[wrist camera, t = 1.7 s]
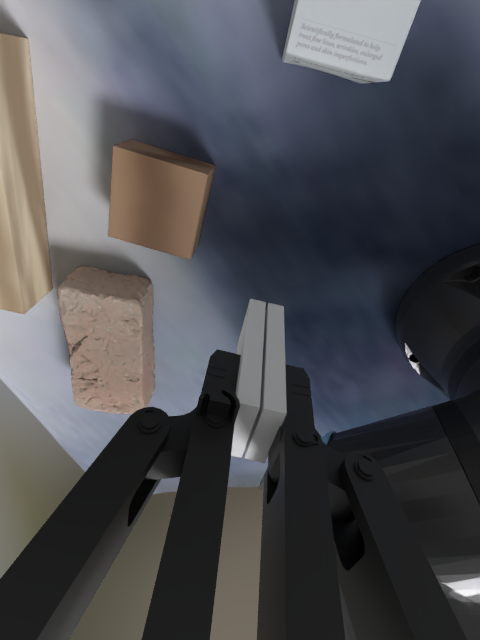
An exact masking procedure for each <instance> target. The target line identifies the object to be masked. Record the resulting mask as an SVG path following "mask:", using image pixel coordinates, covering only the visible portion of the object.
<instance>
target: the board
mask: <svg viewBox="0 0 480 640" xmlns="http://www.w3.org/2000/svg"><path fill="white" fill-rule="evenodd" d="M52 289H53V285H52V275H51V265H50V255H49V245H48V234H47V224H46V214H45V204H44V194H43V184H42V174H41V164H40V154H39V143H38V133H37V123H36V113H35V103H34V93H33V83H32V73H31V63H30V52H29V42H28V39H27V38H23V37H19V36H15V35H12V34H8V33H4V32H0V309H3V310H7V311H12V312H16V313H20V314H25V313H26V312H27V311H29V310H30V309H31V308H32V307H33V306H34V305H35V304H36V303H37V302H39V301H40V300H41V299H42V298H43V297H44V296H45V295H46V294H48V293H49V292H50V291H51V290H52Z"/></svg>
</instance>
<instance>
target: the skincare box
mask: <svg viewBox="0 0 480 640" xmlns="http://www.w3.org/2000/svg"><path fill="white" fill-rule="evenodd" d="M420 2H421V0H295V1H294V6H293V11H292V15H291V20H290V25H289V29H288V34H287V39H286V43H285V48H284V53H283V57H282V62H284V63H290V64H295V65H300V66H304V67H308V68H312V69H315V70H319V71H323V72H326V73H329V74H333V75H336V76H339V77H342V78H345V79H348V80H351V81H354V82H357V83H360V84H365V83H376V82H388V81H390V79H391V77H392V75H393V72H394V69H395V67H396V64H397V61H398V59H399V57H400V54H401V51H402V48H403V46H404V43H405V41H406V38H407V36H408V33H409V30H410V28H411V25H412V22H413V20H414V17H415V14H416V12H417V9H418V7H419V4H420Z"/></svg>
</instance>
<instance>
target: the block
mask: <svg viewBox="0 0 480 640" xmlns="http://www.w3.org/2000/svg"><path fill="white" fill-rule="evenodd" d="M215 166H216V165H213V164H209V163H206V162H203V161H200V160H196V159H193V158H190V157H187V156H183V155H180V154H177V153H174V152H171V151H167V150H164V149H161V148H158V147H154V146H151V145H148V144H145V143H141V142H138V141H135V140H132V139H131V140H128V141H126V142H123V143H120V144H117V145H114V146H113V158H112V176H111V194H110V211H109V229H108V236H109V237H113V238H116V239H120V240H123V241H127V242H130V243H134V244H137V245H140V246H144V247H147V248H151V249H154V250H158V251H161V252H165V253H168V254H172V255H175V256H179V257H182V258H186V259H189V260H191V258H192V256H193V254H194V252H195V250H196V248H197V246H198V244H199V240H200V236H201V231H202V226H203V222H204V217H205V212H206V208H207V203H208V198H209V194H210V189H211V184H212V180H213V175H214V170H215Z"/></svg>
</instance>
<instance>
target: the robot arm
mask: <svg viewBox="0 0 480 640" xmlns="http://www.w3.org/2000/svg"><path fill="white" fill-rule="evenodd" d="M265 307H266V302H263V301H259V300H255V299H250V301H249V305H248V308H247V312H246V316H245V319H244V323H243V327H242V330H241V334H240V337H239V341H238V346H237V353H236V354H234V353H230V352H225V351H221V350H216V351H215V352H214V353H213V354H212V355H211V356H210V360H209V364H208V368H207V372H206V376H205V380H204V384H203V388H202V392H201V395H200V397H199V401H198V405H197V407H196V408H195V409H194V410H193V411H191V412H190V413H188V414H185V415H181V416H168V415H167V413H166V412H164V411H162V410H161V409H158V408H154V407H145V408H142V409H139V410H137V411H135V412H134V413H133V414H132V415H131V416H130V417H129V418H128V419H127V421H126V422H125V423H124V425H123V426H122V427H121V428H120V430H119V431H118V432H117V433H116V435H115V436H114V437H113V438H112V440H111V441H110V442H109V443H108V445H107V446H106V447H105V448H104V450H103V451H102V452H101V453H100V455H99V456H98V457H97V458H96V460H95V461H94V462H93V463H92V465H91V466H90V467H89V468H88V470H87V471H86V472H85V473H84V475H83V476H82V477H81V478H80V480H79V481H78V482H77V484H76V485H75V486H74V487H73V488H72V490H71V491H70V492H69V494H68V495H67V496H66V497H65V499H64V500H63V501H62V502H61V504H60V505H59V506H58V507H57V509H56V510H55V511H54V512H53V514H52V515H51V516H50V518H49V519H48V520H47V521H46V523H45V524H44V525H43V526H42V527H41V529H40V530H39V531H38V533H37V534H36V535H35V536H34V537H33V539H32V540H31V541H30V542H29V544H28V545H27V546H26V547H25V549H24V550H23V551H22V552H21V554H20V555H19V557H17V559H16V560H15V561H14V563H13V564H12V565H11V566H10V568H9V569H8V570H7V571H6V573H5V574H4V575H3V576H2V578H1V579H0V640H69V638H70V637H71V635H72V633H73V631H74V630H75V628H76V626H77V624H78V623H79V621H80V619H81V618H82V616H83V614H84V612H85V611H86V609H87V607H88V605H89V604H90V602H91V600H92V598H93V597H94V595H95V593H96V591H97V590H98V588H99V586H100V585H101V583H102V581H103V579H104V578H105V576H106V574H107V572H108V571H109V569H110V567H111V565H112V563H113V562H114V560H115V558H116V557H117V555H118V553H119V552H120V550H121V548H122V546H123V545H124V543H125V541H126V539H127V537H128V536H129V534H130V532H131V531H132V529H133V527H134V525H135V524H136V522H137V520H138V518H139V517H140V515H141V513H142V511H143V510H144V508H145V506H146V505H147V503H148V501H149V499H150V498H151V496H152V494H153V492H154V491H155V489H156V487H157V485H158V484H159V482H160V480H161V479H165V478H174V477H180V482H179V486H178V490H177V494H176V498H175V503H174V507H173V512H172V515H171V519H170V524H169V528H168V532H167V536H166V540H165V545H164V549H163V553H162V557H161V561H160V566H159V570H158V574H157V579H156V582H155V587H154V591H153V595H152V599H151V604H150V607H149V611H148V616H147V620H146V624H145V628H144V632H143V637H142V640H210V631H211V623H212V614H213V605H214V596H215V589H216V580H217V571H218V563H219V554H220V546H221V545H220V544H221V537H222V528H223V520H224V511H225V503H226V494H227V493H226V492H227V485H228V477H229V468H230V460H231V456H235V457H240V458H241V457H242V454H243V452H244V449H245V459H249V460H254V461H259V462H263V463H265V462H266V459H267V457H268V468H267V470H266V472H265V474H264V477H263V479H262V481H261V483H260V487H259V489H260V490H262V489H263V486H264V494H263V516H262V539H261V560H260V582H259V604H258V606H259V607H258V627H257V640H480V244H479V245H475V246H472V247H469V248H466V249H463V250H461V251H458V252H456V253H454V254H452V255H450V256H448V257H446V258H444V259H443V260H441V261H439V262H438V263H436V264H435V265H434V266H432V267H431V268H430V269H428V270H427V271H426V272H425V273H423V274H422V275H421V276H420V277H419V278H418V279H417V280H416V281H415V282H414V284H413V285H412V286H411V287H410V289H409V290H408V291H407V293H406V294H405V296H404V298H403V300H402V302H401V304H400V306H399V309H398V312H397V316H396V321H395V332H396V337H397V341H398V343H399V345H400V348H401V350H402V352H403V354H404V356H405V358H406V360H407V361H408V363H409V364H410V365H411V366H412V368H413V369H414V370H415V371H416V372H417V373H419V374H420V375H421V376H422V377H423V378H425V379H426V380H427V381H428V382H429V383H431V384H432V385H433V386H434V387H435V388H437V389H438V390H439V391H440V392H441V393H443V394H444V395H445V396H446V397H447V398H449V399H450V400H451V401H448V402H445V403H441V404H438V405H434V406H429V407H426V408H422V409H419V410H415V411H412V412H408V413H405V414H402V415H398V416H395V417H391V418H388V419H384V420H381V421H377V422H374V423H370V424H367V425H363V426H360V427H356V428H353V429H349V430H346V431H342V432H339V433H336V432H335V431H331V432H328V433H327V434H326V435H325V436H324V437H321V436H320V434H319V433H318V432H317V430H316V429H315V426H314V417H313V408H312V398H311V390H310V380H309V377H308V375H307V374H306V372H305V370H304V369H303V368H299V367H294V366H290V365H286V364H285V333H284V306H280V305H276V304H272V303H268V305H267V308H266V312H265ZM245 446H246V448H245ZM268 455H269V456H268Z"/></svg>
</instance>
